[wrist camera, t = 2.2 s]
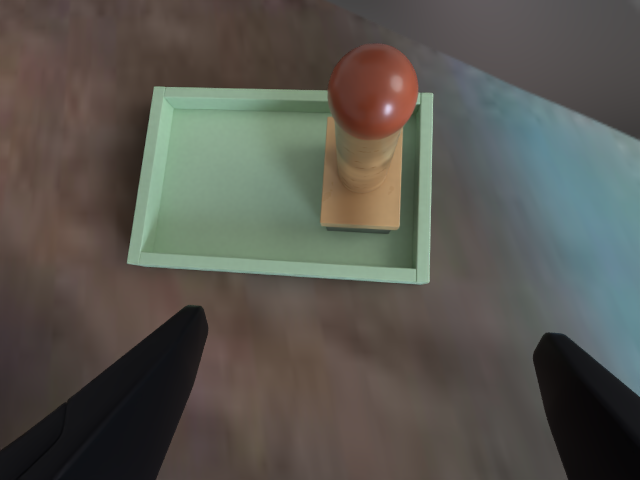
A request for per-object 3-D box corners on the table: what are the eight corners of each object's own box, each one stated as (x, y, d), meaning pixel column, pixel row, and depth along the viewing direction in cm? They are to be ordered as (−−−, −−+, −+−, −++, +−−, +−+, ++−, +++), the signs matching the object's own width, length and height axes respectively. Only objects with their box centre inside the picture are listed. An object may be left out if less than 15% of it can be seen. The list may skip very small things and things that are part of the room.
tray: (426, 109, 25) (433, 92, 23) (422, 284, 23) (429, 283, 21) (168, 102, 26) (153, 86, 24) (144, 266, 24) (126, 263, 22)
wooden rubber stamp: (395, 143, 24) (448, -24, 12) (391, 237, 23) (446, 165, 11) (329, 141, 24) (313, -24, 12) (323, 233, 23) (298, 159, 11)
